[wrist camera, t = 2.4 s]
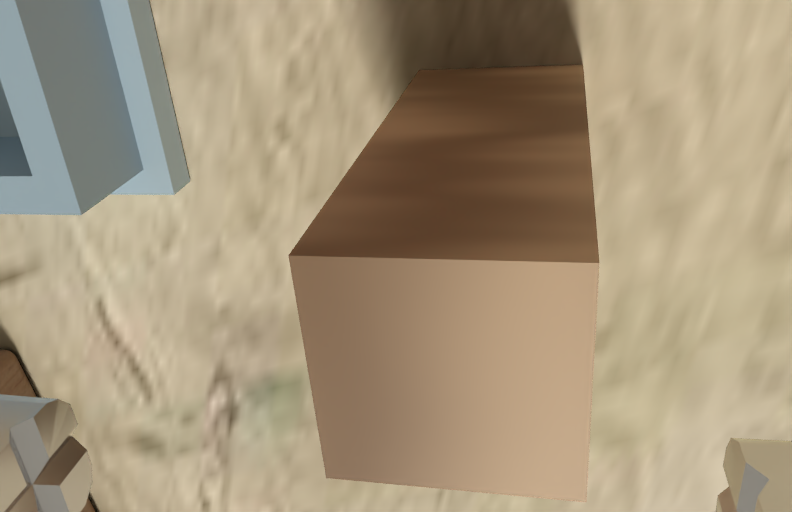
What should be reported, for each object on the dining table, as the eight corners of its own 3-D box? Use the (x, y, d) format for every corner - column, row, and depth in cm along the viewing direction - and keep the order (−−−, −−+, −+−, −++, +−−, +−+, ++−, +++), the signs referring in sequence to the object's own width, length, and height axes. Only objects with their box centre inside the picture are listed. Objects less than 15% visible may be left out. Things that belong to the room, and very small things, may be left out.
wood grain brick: (582, 64, 17) (599, 263, 9) (577, 215, 19) (586, 502, 11) (419, 70, 18) (288, 256, 10) (429, 214, 20) (326, 478, 12)
